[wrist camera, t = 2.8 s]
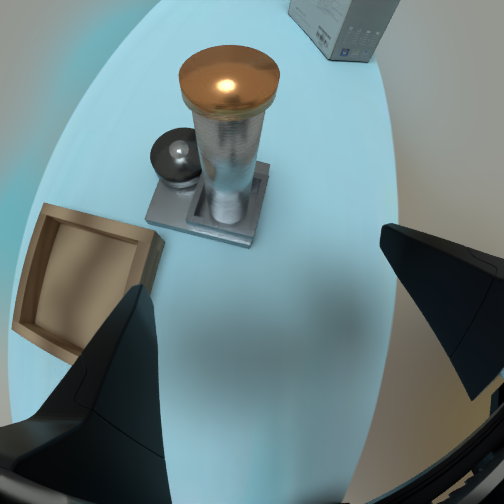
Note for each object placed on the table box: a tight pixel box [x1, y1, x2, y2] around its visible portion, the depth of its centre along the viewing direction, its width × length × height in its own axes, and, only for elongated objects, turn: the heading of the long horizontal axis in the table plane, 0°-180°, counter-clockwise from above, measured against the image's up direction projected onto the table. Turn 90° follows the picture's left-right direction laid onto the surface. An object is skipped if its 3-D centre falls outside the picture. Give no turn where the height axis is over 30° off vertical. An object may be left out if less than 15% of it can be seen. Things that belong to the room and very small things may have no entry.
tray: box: [12, 203, 165, 365], centre depth 19 cm, size 12×12×3 cm
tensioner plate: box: [145, 128, 270, 249], centre depth 22 cm, size 10×8×4 cm
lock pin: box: [179, 45, 280, 224], centre depth 15 cm, size 4×4×14 cm
